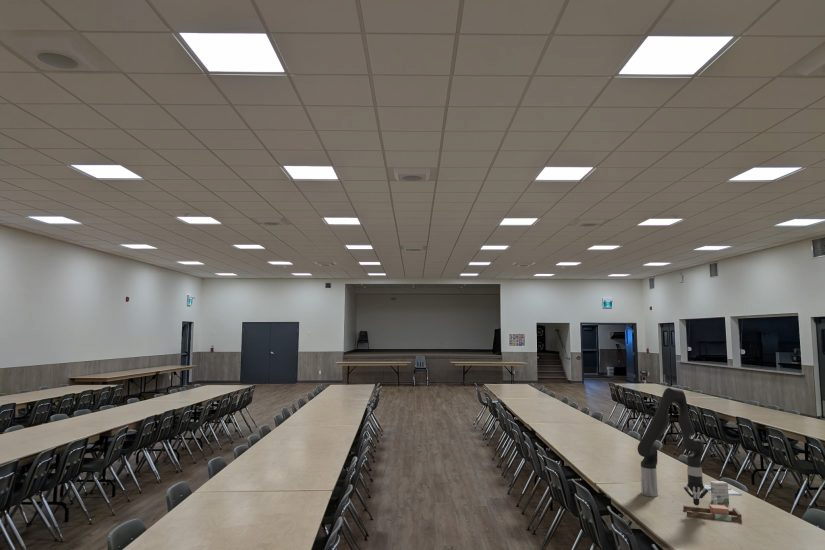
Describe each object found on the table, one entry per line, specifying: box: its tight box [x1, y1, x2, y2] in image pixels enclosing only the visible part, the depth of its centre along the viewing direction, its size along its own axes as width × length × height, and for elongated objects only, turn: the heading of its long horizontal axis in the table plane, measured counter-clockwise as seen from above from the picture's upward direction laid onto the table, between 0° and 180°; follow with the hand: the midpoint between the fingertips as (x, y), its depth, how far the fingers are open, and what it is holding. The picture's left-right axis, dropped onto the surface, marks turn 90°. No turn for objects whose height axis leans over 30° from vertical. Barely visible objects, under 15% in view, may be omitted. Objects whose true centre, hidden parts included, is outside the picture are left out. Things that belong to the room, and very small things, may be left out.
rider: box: [708, 504, 730, 515], centre depth 283 cm, size 8×6×6 cm
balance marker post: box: [712, 498, 719, 505], centre depth 292 cm, size 2×2×7 cm
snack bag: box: [703, 484, 742, 496], centre depth 330 cm, size 19×20×2 cm
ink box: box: [709, 480, 730, 504], centre depth 309 cm, size 8×5×12 cm, turn 93°
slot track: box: [682, 504, 743, 523], centre depth 284 cm, size 27×11×4 cm, turn 72°
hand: (696, 505), depth 287 cm, fingers closed
